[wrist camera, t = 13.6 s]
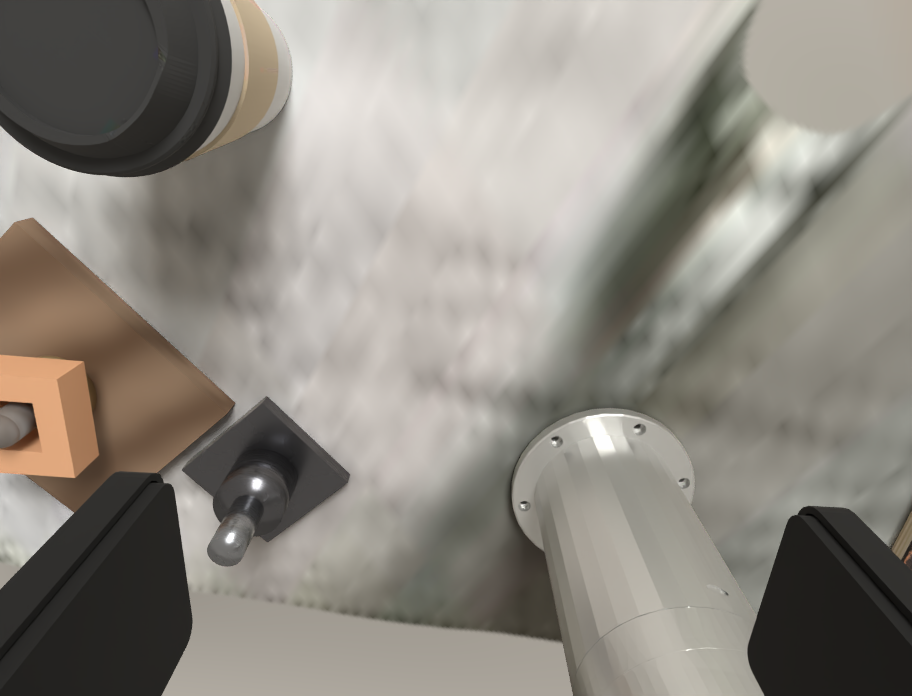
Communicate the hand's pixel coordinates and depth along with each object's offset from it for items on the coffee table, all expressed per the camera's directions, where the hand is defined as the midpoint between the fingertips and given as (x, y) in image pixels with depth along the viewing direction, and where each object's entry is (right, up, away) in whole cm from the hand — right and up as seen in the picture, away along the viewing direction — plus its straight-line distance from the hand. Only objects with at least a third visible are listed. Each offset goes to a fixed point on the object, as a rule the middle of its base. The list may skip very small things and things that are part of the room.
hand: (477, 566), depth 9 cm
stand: (-13, -5, +32) cm, 35 cm away
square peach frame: (-26, 0, +26) cm, 37 cm away
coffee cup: (-13, +19, +23) cm, 32 cm away
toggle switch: (-26, +1, +30) cm, 39 cm away
